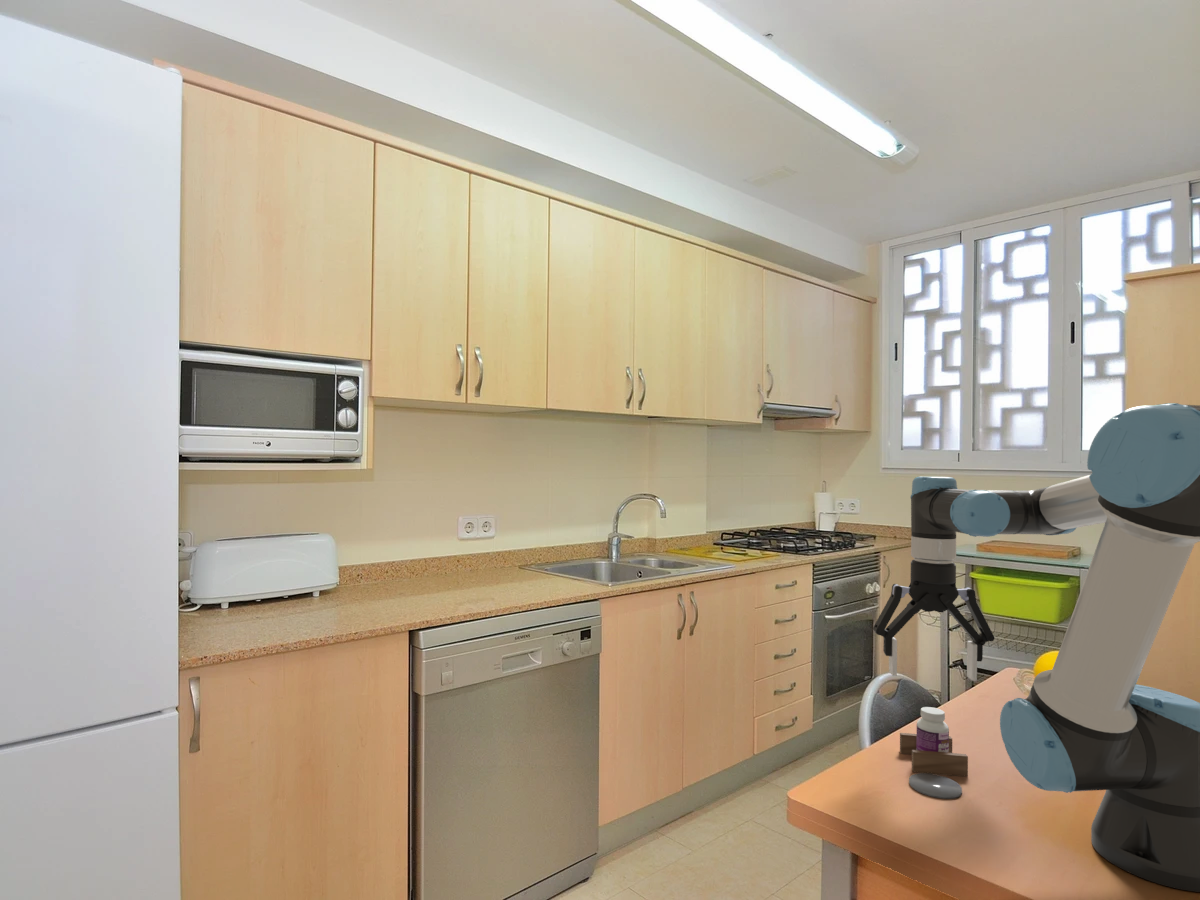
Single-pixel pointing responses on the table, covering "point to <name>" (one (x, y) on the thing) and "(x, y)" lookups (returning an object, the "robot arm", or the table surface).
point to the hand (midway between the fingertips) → (931, 676)
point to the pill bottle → (932, 731)
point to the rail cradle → (933, 758)
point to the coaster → (935, 785)
